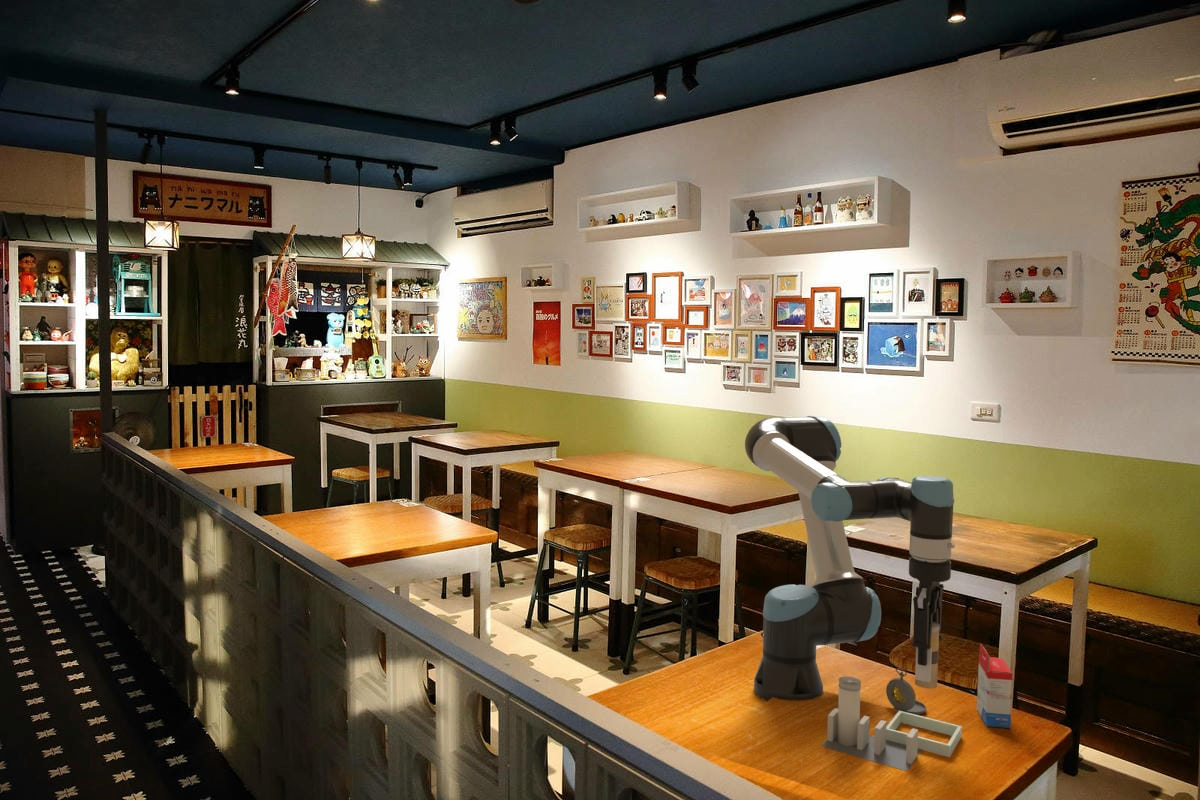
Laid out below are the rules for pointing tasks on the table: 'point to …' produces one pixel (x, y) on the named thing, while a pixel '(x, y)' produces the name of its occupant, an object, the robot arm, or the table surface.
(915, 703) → the pocket watch
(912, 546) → the robot arm
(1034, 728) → the table surface
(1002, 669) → the ink box
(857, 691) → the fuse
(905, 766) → the fuse board
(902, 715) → the parts tray
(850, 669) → the table surface
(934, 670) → the cylinder
